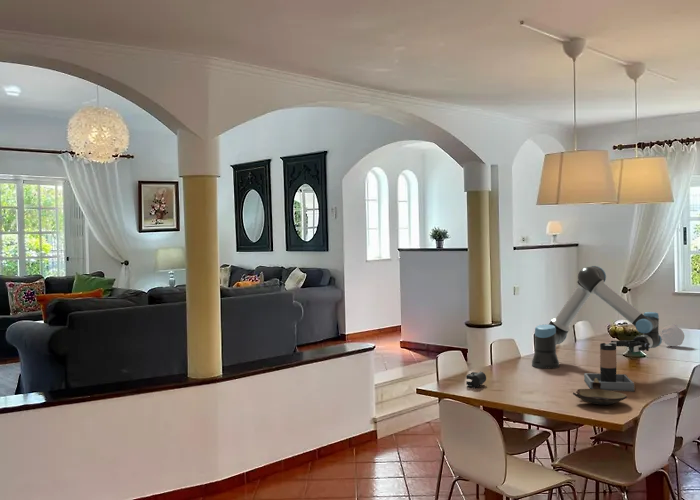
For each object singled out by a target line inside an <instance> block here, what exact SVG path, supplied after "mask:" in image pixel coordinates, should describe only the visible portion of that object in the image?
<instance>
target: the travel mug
mask: <svg viewBox="0 0 700 500" xmlns="http://www.w3.org/2000/svg"><path fill="white" fill-rule="evenodd" d="M609 343H610V344H609ZM609 343H607V344H606V343H605V342H601V343H599V346H600V347H599V354H600V355H599V368H600V370H599V371H600V373H599V374H600V376H601V382H616V374H617V346H616V344H613V343H611V342H609Z"/></svg>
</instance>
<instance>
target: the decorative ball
mask: <svg viewBox="0 0 700 500" xmlns="http://www.w3.org/2000/svg"><path fill="white" fill-rule="evenodd" d="M659 333H660V336H661V338H662V342H664V344H665V345H667V346H668V347H670V346H676V347H678V346H681V345H682V344H683V343H684V340H685V333H684V330H682V328H680V327H678V325H677V324H673V323H672V324H669V325H666V326H664V327H662V329H661V330H660V331H659Z"/></svg>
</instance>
